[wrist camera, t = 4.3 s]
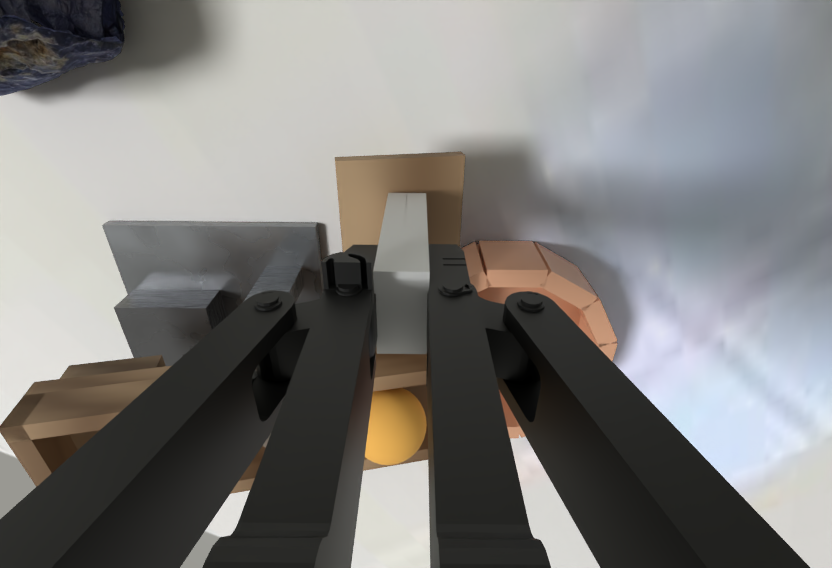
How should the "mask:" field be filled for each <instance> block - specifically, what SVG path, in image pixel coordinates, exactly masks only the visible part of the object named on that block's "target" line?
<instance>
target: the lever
mask: <svg viewBox="0 0 832 568" xmlns="http://www.w3.org/2000/svg"><path fill="white" fill-rule="evenodd" d="M335 165H336V177H337V189H338V201H339V213H340V225H341V237H342V248H343V252H345V251H346V250H347V249H348V248H350V247H351V246H352V245H378V243H379V238H380V233H381V228H382V223H383V217H384V212H385V207H386V202H387V197H388V193H426V202H427V224H428V244H457V245H458V246H459V247H460V231H461V215H462V199H463V183H464V167H465V155H464V154H463V153H462V152H445V153H422V154H399V155H376V156H352V157H335ZM426 366H427V354H377V346H376V371H375V379H374V386H373V392H374V391H381V390H388V389H395V388H404V389H406V390H408V391H409V392H411V393H412V394H413V395H414V396H415V397H416V398H417V399H418V400H419V402H420V403H421V405H422V407H423V409H424V412H425V416H426V423H427V426H426V433H425V437H424V440H423V442H422V444H421V446H420V448H419V449H418V450H417V452H416V453H415V454H414V455H413V456H411V457H410V458H409V459H407V460H406V461H404V462H401V463H399V464H404V463H410V462H416V461H422V460H428V415H427V386H426ZM170 367H171V366H166V365H165V362H164V360H163V357H162V355H157V356H149V357H140V358H131V359H123V360H114V361H105V362H97V363H88V364H79V365H71V366H69V367H68V368H67V370H66V371H65V372H64V374H63V375H62V376H61V378H60V379H57V380H49V381H40V382H34V383H33V385H32V386H31V387H30V388H29V390H28V391H27V392H26V394H25V395H24V396H23V397H22V399H21V400H20V401H19V403H18V404H17V405H16V406H15V408H14V409H13V410H12V411H11V413H10V414H9V415H8V417H7V418H6V419H5V420H4V422H3V423H2V424H1V425H0V433H1V434H2V436H3V437H4V439H5V440H6V442H7V443H8V445H9V446H10V448H11V449H12V451H13V452H14V454H15V455H16V457H17V458H18V460H19V461H20V463H21V464H22V466H23V467H24V468H25V470H26V472H27V473H28V475H29V476H30V477H31V479H32V480H33V482H34V484H35V485H36V487H37V486H38V485H39V484H40V483H42V482H43V481H44V480H45V479H46V478H47V477H48V476H49V475H50V474H52V473H53V472H54V471H55V470H56V469H57V468H58V467H59V466H61V465H62V464H63V463H64V462H65V461H66V460H67V459H68V458H69V457H71V456H72V455H73V454H74V453H75V452H76V451H77V450H78V449H80V448H81V447H82V446H83V445H84V444H85V443H86V442H87V441H89V440H90V439H91V438H92V437H93V436H94V435H95V434H96V433H97V432H99V431H100V430H101V429H102V428H103V427H104V426H105V425H106V424H108V423H109V422H110V421H111V420H112V419H113V418H114V417H115V416H116V415H118V414H119V413H120V412H121V411H122V410H123V409H124V408H125V407H127V406H128V405H129V404H130V403H131V402H132V401H133V400H134V399H135V398H137V397H138V396H139V395H140V394H141V393H142V392H143V391H144V390H146V389H147V388H148V387H149V386H150V385H151V384H152V383H153V382H154V381H156V380H157V379H158V378H159V377H160V376H161V375H162V374H163V373H165V372H166V371H167V370H168V369H169V368H170ZM270 435H271V434H270ZM269 438H270V436H269V437H268V439H267V440H266V441H265V443H264V444H263V446H262V447H261V449H260V450H259V452H258V453H257V455H256V456H255V458H254V459H253V461H252V462H251V464H250V465H249V466H248V468H247V469H246V471H245V472H244V474H243V475H242V477H241V478H240V480H239V481H238V483H237V484H236V486H235V487H234V489H233V490H232V492H231V493H237V492H243V491H248V490H250V489H251V487H252V484H253V481H254V479H255V476H256V473H257V470H258V468H259V465H260V462H261V460H262V457H263V454H264V451H265V449H266V446H267V443H268V441H269ZM399 464H394V465H399ZM387 466H393V465H381V464H377V463H374V462H372V461H370V460H368V459H367V458H366V457H365V458H364V466H363V471H364V470H370V469H376V468H381V467H387ZM231 493H230V494H231Z"/></svg>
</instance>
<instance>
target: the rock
mask: <svg viewBox="0 0 832 568" xmlns="http://www.w3.org/2000/svg"><path fill="white" fill-rule="evenodd" d="M120 7H121V4H120V2H119V0H0V96H2V95H6V94H11V93H14V92H17V91H21V90H26V89H29V88H32V87H34V86H37V85H39V84H42V83H44V82H47V81H50V80H52V79H55V78H57V77H59V76H60V75H61V74H63V73H66V72H68V71H69V70H70V69H74V68H76V67H83V66H85V65H87V64H89V63H98V62H105V61H108V60H111V59H113V58H114V57H115V56H117V55H118V54H119V53H120V52H121V49H122V46H123V42H124V32H123V30H124V28H125V25H124V20H123V19H122V17H121V16H123V15H124V14H123V13H122V12H121V10H120ZM31 20H33V21H36V22H38V23H39V24H41V25H42V27H38V26H37V25H35V24H33V23H31ZM43 26H44V27H43Z"/></svg>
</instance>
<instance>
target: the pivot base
mask: <svg viewBox="0 0 832 568" xmlns="http://www.w3.org/2000/svg"><path fill="white" fill-rule="evenodd" d="M102 226H103V229H104V232H105V234H106V237H107V240H108V242H109V245H110V248H111V250H112V253H113V256H114V258H115V261H116V264H117V266H118V269H119V272H120V274H121V277H122V280H123V283H124V285H125V288H126V291H127V293H128V295H127V296H126V297H125V298H124V299H123V300H122V301H121V302H120V303H119V304H117V305H116V306H115V307H114V309H115V312H116V314H117V317H118V319H119V322H120V324H121V327H122V329H123V332H124V334H125V337H126V339H127V342H128V344H129V347H130V349H131V352H132V354H133V357H134V358H140V357H149V356H157V355H162V357H163V360H164V362H165V365H166V366H172V365H173V364H175V363H176V362H177V361H178V360H179V359H180V358H181V357H182V356H184V355H185V354H186V353H187V352H188V351H189V350H190V349H191V348H193V347H194V346H195V345H196V344H197V343H198V342H199V341H200V340H201V339H203V338H204V337H205V336H206V335H207V334H208V333H209V332H210V331H212V330H213V329H214V328H215V327H216V326H217V325H218V324H219V323H220V322H222V321H223V320H224V319H225V318H226V317H227V316H228V315H229V314H231V313H232V312H233V311H234V310H235V309H236V308H237V307H238V306H239V305H241V304H242V303H243V302H244V301H245V300H246V299H248V298H249V297H251V296H253V295H255V294H258V293H261V292H263V291H269V290H274V291H284V292H287V293H290V294H291V295H292V296H293V297H294V301H295V304H298V303H303V302H309V301H313V300H316V299H319V298H321V296H322V294H323V291H324V284H323V275H322V266H321V262H322V261H321V252H320V243H319V234H318V225H317V223H298V222H171V221H108V222H106V223H105V224H103V225H102Z"/></svg>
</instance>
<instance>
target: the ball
mask: <svg viewBox="0 0 832 568" xmlns="http://www.w3.org/2000/svg"><path fill="white" fill-rule="evenodd" d="M426 426H427V423H426V416H425V412H424V409H423V407H422V405H421V403H420V402H419V400H418V399H417V398H416V397H415V396H414V395H413V394H412V393H411V392H409V391H408V390H406V389H404V388H395V389H388V390H381V391H374V392H373V394H372V402H371V410H370V418H369V426H368V434H367V442H366V450H365V457H366V458H367V459H368V460H370V461H372V462H374V463H377V464H381V465H394V464H399V463H401V462H404V461H406V460H407V459H409V458H410V457H411V456H413V455H414V454H415V453H416V452H417V450H418V449H419V448H420V446H421V444H422V442H423V440H424V437H425V433H426Z"/></svg>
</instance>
